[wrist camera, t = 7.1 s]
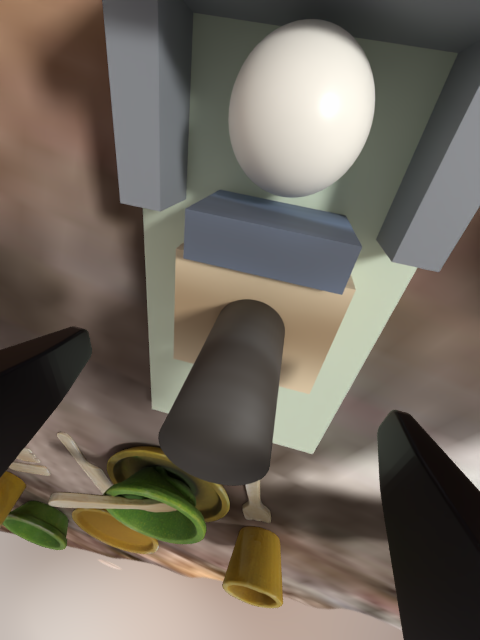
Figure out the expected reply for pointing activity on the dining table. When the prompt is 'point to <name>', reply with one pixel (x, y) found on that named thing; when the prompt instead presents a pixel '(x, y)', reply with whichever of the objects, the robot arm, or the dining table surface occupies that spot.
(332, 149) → the ball
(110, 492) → the tableware set
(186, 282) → the sled
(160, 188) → the pitch
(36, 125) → the dining table surface
